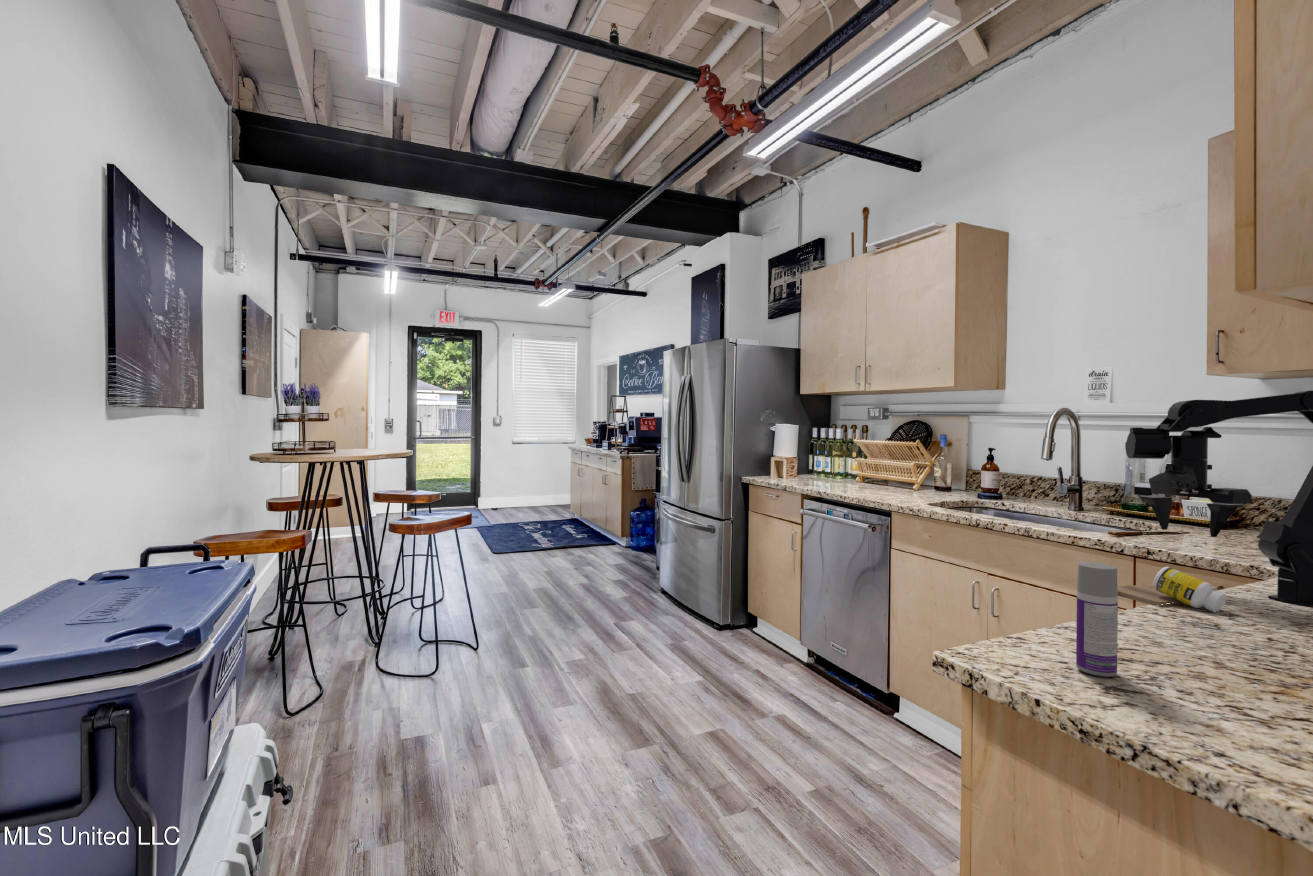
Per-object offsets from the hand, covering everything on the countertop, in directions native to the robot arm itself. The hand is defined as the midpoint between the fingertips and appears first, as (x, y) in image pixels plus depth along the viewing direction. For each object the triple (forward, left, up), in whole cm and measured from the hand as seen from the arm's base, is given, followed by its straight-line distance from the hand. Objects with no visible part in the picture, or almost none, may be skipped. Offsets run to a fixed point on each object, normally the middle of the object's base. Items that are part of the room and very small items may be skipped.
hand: (1188, 533), depth 123 cm
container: (+58, +27, -13) cm, 65 cm away
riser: (+10, 0, -14) cm, 17 cm away
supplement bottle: (+11, +2, -8) cm, 14 cm away
